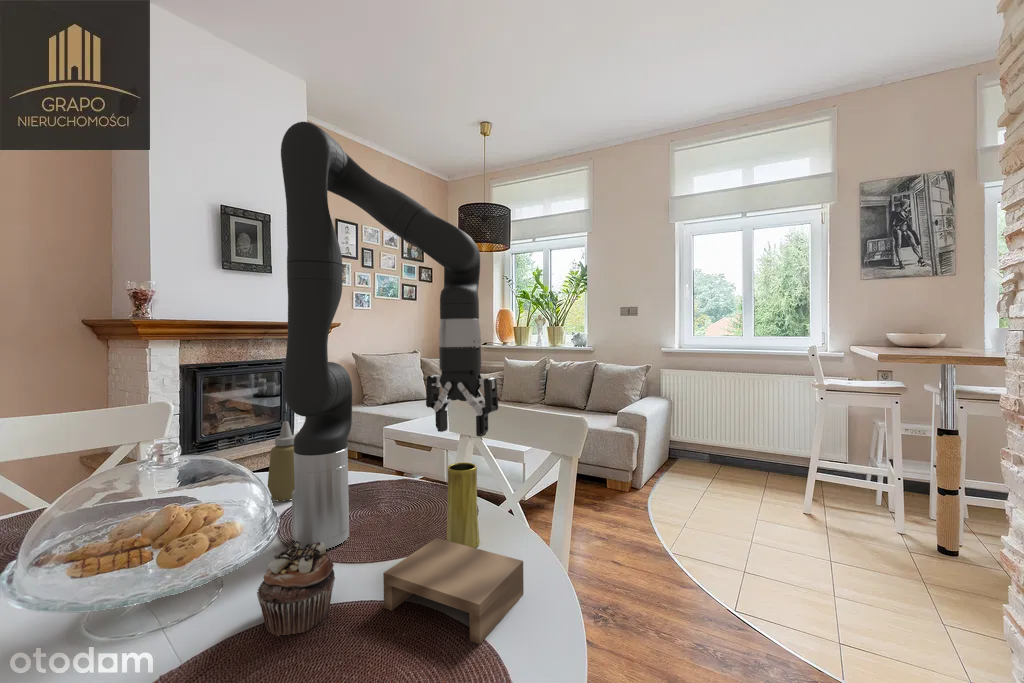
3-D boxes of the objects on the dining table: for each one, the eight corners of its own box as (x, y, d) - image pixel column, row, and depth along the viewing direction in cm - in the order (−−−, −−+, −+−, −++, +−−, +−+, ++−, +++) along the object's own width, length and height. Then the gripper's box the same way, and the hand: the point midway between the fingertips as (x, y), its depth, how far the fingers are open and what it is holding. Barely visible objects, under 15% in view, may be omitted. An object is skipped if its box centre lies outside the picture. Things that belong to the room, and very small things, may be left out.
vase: (474, 553, 79) (473, 472, 79) (441, 550, 80) (440, 470, 80) (483, 537, 85) (482, 462, 85) (452, 534, 86) (451, 460, 86)
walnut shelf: (383, 607, 64) (383, 572, 63) (436, 568, 74) (436, 537, 74) (479, 644, 56) (479, 604, 56) (523, 594, 67) (523, 560, 66)
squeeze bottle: (259, 503, 103) (257, 424, 102) (283, 490, 111) (281, 418, 110) (291, 505, 102) (289, 425, 101) (313, 492, 110) (311, 418, 109)
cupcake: (341, 593, 67) (340, 527, 67) (326, 636, 58) (325, 559, 57) (272, 600, 66) (271, 532, 65) (245, 646, 56) (243, 566, 56)
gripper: (415, 345, 82) (417, 433, 82) (482, 345, 75) (483, 442, 75) (441, 343, 88) (442, 426, 89) (504, 343, 82) (505, 432, 82)
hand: (461, 433), depth 82 cm, fingers open, 8 cm apart
